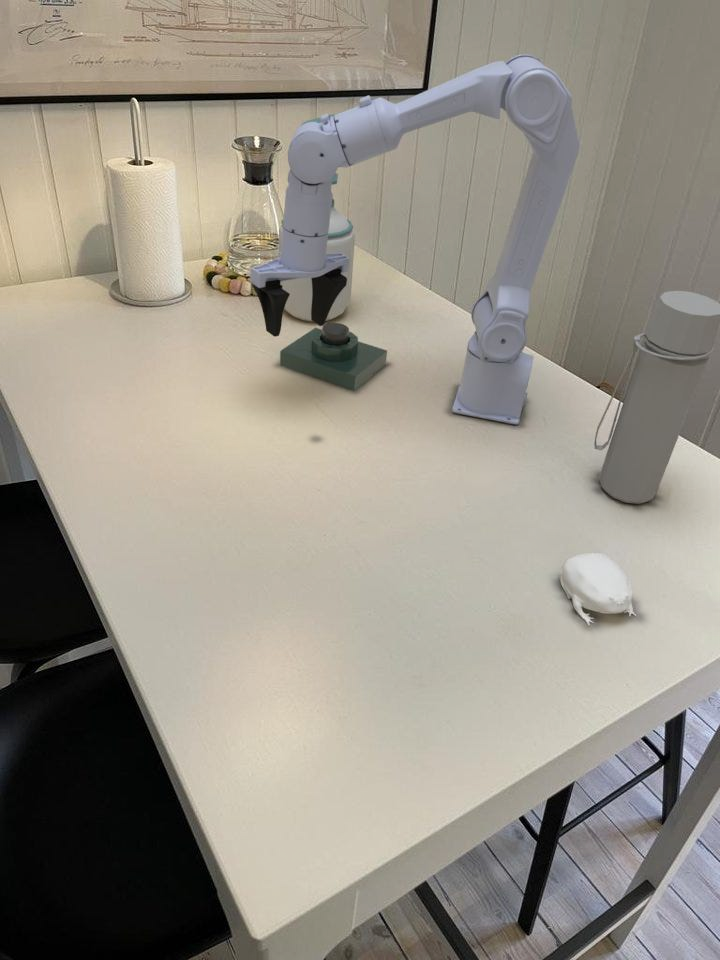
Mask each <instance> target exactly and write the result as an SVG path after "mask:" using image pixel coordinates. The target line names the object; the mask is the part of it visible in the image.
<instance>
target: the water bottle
mask: <svg viewBox="0 0 720 960" xmlns="http://www.w3.org/2000/svg"><path fill="white" fill-rule="evenodd" d="M719 328H720V303H719V302H718V301H717V300H715V299H713V298H711V297H708V296H707V295H703V294H701V293H696V292H693V291H685V290H684V291H683V290H671V291H665V292H663V293H662V294H661V295H660V296H659V298H658V300H657V303H656V306H655V307H654V310H653V312H652V313H651V317H650V319H649V321H648V324H647V326H646V328H645V330H644V332H643V333H639V334H637V335H634V338H633V339H634V340H633V348H632V352H631V354H630V356H629V358H628V361H627V363H626V365H625V367H624V369H623V370H622V374H621V375H620V377H619V380H618V382H617V384H616V386H615V389H614V391H613V393H612V394H611V397H610V399H609V401H608V403H607V405H606V408H605V410H604V412H603V414H602V417H601V419H600V421H599V422H598V425H597V427H596V432H595V437H594V443H593V445H594V450H597V451H603V450H604V449H606V448H607V446H608V445H609V446H608V449H607V452H606V455H605V458H604V461H603V464H602V467H601V470H600V473H599V475H598V479H599V482H600V486H601V488H602V490H603V491H604V492H605V493H607V494H608V495H609V496H610V497H612V499H616V500H618V501H620V502H623V503H627V504H638V505H640V504H644V503H646V502H650V501H652V500H653V499H654V497H655V496H656V494H657V493H658V490H659V488H660V485H661V482H662V480H663V477H664V475H665V473H666V470H667V468H668V465H669V462H670V459H671V457H672V454H673V451H674V449H675V447H676V444H677V441H678V439H679V436H680V434H681V431H682V428H683V426H684V423H685V421H686V418H687V416H688V413H689V410H690V408H691V406H692V403H693V401H694V398H695V395H696V393H697V390H698V387H699V386H700V382H701V380H702V377H703V374H704V372H705V370H706V367H707V364H708V362H709V359H710V356H711V354H712V353H713V351H714V349H715V342H716V339H717V334H718V330H719ZM641 338H643V340H644V341H643V342H642V344H640V341H641ZM638 350H640V351H639V354H638V357H637V360H636V363H635V366H634V368H633V372H632V374H631V378H630V381H629V384H628V386H627V383H628V378H629V375H630V371H631V367H632V364H633V361H634V358H635V357H634V356H635V354H636V352H637V351H638ZM628 366H629V367H628ZM627 369H628V370H627ZM626 370H627V374H626V377H625V381H624V384H623V387H622V391H621V394H620V397H619V401H618V404H617V407H616V411H615V413H614V414H615V415H614V417H613V421H612V425H611V427H610V428H611V429H610V431H609V435H608V439H607V440H606V442H605V443H603V444H602V445H600V444H599V445H598V444H597V438H598V433H599V430H600V428H601V426H602V423H603V421H604V419H605V416H606V414H607V412H608V410H609V408H610V406H611V404H612V401H613V399H614V397H615V395H616V393H617V390H618V388H619V386H620V384H621V382H622V379H623V377H624V375H625V372H626ZM626 386H627V391H626V394H625V396H624V393H625V389H626ZM623 396H624V399H623ZM622 400H623V403H622ZM621 403H622V406H621ZM620 407H621V409H620ZM618 413H619V414H618ZM616 421H617V422H616Z"/></svg>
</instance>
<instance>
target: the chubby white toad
mask: <svg viewBox="0 0 720 960" xmlns="http://www.w3.org/2000/svg"><path fill="white" fill-rule="evenodd" d="M559 581H560V585H561V587H562V589H563V591H564V592H565V594H566V596H567V598H568V599H569V600H570V599H571V601H572V605H573V608H574V610H575V612H576V613H577V614H578V615H579V616H580V617H581V618H582V619H583V620H584V621H585V623H586V624H587V625H588V626H590V625H591V624H594V622H593V621H592V620H594V619H595V618H594V617H592V616H590V615H591V613H590V612H588V613H585V612H584V611H583V609H587V610H589V611H594V612H597V613H599V614H609V615H610V614H613V615H614V614H615V615H616V614H621V613H623V614H625V613H628V616H629V617H631V615H633V616H634V617H637V615H636V613H635V612H634V608H633V598H634V592H633V584H632V582H631V580H630V579H629V577H628V576H627V574H626V573H625V572H624V571H623V569H622V568H621V566H620V565H618V563H616V562H615V561H614V560H612V558H610V557H609V556H608V555H606V554H603V553H600V552H588V553H586V552H585V553H581V554H577V555H574V556H571V557H569V558H567V559H566V560H565V562H564V563H563V564H562V566H561V570H560V571H559ZM590 623H591V624H590Z"/></svg>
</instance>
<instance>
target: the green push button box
mask: <svg viewBox="0 0 720 960" xmlns="http://www.w3.org/2000/svg"><path fill="white" fill-rule="evenodd" d="M387 357H388V350H386V349H384V348H380V347H377V346H374V345H371V344H369V343H365V342H362V341H359V337H358V336H357V335H356V334H355V333H353V332H352V331H349V337H348V343H347V344H346V345H341V346H332V345H328V344H325V343H323V342H322V328H318V327H314V328H312V329H311V330H309V331H308V332H307V333H305V334H304V335H302V336H300V337H299V338H297V339H296V340H295V341H293V342H291V343H290V344H288V345H287V346H285V347H284V348H282V349H280V351H279V366H281V367H283V368H286V369H289V370H292V371H295V372H299V373H301V374H304V375H306V376H310V377H313V378H316V379H318V380H320V381H321V380H322V381H323V382H327V383H330V384H333V385H335V386H339V387H342V388H344V389H347V390H350V391H353V392H355V391H356V390H358V389H359V388H360V387H361V386H363V384H365V383H366V382H368V380H369V379H371V378H372V377H373V376H374V375H375V374H377V373H378V372H379V371H380V370H382V368H384V367H385V366H386V365H387Z"/></svg>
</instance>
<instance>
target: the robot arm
mask: <svg viewBox="0 0 720 960" xmlns="http://www.w3.org/2000/svg"><path fill="white" fill-rule="evenodd" d="M371 98H372V97H371V96H370V95H366V96H363V97H361V98H359V100H358V101H359V105H357V106H355V107H352V108H349V109H346V110H345V111H342V112H340V113H337V114H334V116H332V117H330V116H329V115H330V114H329V113H325V114H322V115H320V117H321V118H320V117H319V118H320V120H321V123H316V122H308V123H305V124H303V125H302V124H301V125H302V126H301V125H299V126H298V128H297V129H296V130H295V132H294V133H293V135H292V138H291V140H290V142H289V147H288V150H287V162H288V166H289V170H288V173H287V183H288V185H287V186H286V189H285V198H284V209H283V218H282V220H283V232H282V244H281V252H280V253H279V252H278V257H276V258H274V259H272V260H270V261H268V262H265V263H263V264H260V265H257V266H252V267H250V277H249V283H251V286H252V287H253V289H254V292H255V294H256V296H257V299H258V301H259V303H260V306H261V310H262V314H263V319H264V325H265V331H266V332H268V334H270V335H272V336H273V337H275V338H277V337H279V336H280V334H281V330H282V323H283V315H284V311H285V309H284V308H285V304H286V302H287V299H288V297H289V295H290V294H289V293H288V292H286V291H285V290H283V289H282V285H280V282H281V281H286V280H292V279H297V278H311V280H312V306H311V320H312V321H313V322H312V323H315V324H316V325H318V326H319V327H323V326H324V325H325V323H326V322H327V321H326V318H327V316H328V314H329V311H330V309H331V307H332V305H333V303H334V301H335V299H336V298H337V296H338V295H339V293H340V292H341V291H342V290H343V288H344V287H345V286H346V284H347V278H346V277H345V276H343V275H342V274H341V272H342V273H343V272H348V267H349V260H350V258H349V257H347V256H345V255H343V254H342V253H336V254H326V248H327V240H328V231H329V223H330V215H331V207H332V198H333V199H334V197H333V196H334V194H333V192H332V186H333V185H332V178H333V176H334V174H335V173H337V170H338V168H349V167H352V166H355V165H358V164H360V163H363V162H365V161H368V160H371V159H373V158H376V157H379V156H381V155H384V154H386V153H389V152H392V151H395V150H397V148H398V146H399V144H400V142H401V140H402V138H403V136H404V135H405V134H407V133H410V132H413V131H417V130H419V129H422V128H425V127H428V126H431V125H434V124H437V123H440V122H443V121H446V120H450V119H453V118H455V117H459V116H462V115H465V114H467V113H476V114H479V115H482V116H485V117H489V118H492V119H494V120H500V117H501V109H502V110H503V111H504V112H506V115H507V117H508V119H509V121H510V122H511V123H512V124H513V125H514V126H515V127H516V128H517V129H518V130H519V131H520V132H521V133H522V134H523V135H524V137H525V139H526V142H527V143H528V144H529V146H530V148H531V151H532V154H531V157H530V161H529V163H528V168H527V169H526V173H525V176H524V179H523V182H522V186H521V189H520V192H519V196H518V199H517V202H516V205H515V208H514V211H513V215H512V216H511V221H510V225H509V227H508V230H507V233H506V237H505V240H504V243H503V246H502V249H501V252H500V256H499V258H498V262H497V265H496V268H495V272H494V274H493V275H492V277H491V278H490V279H488V281H487V282H486V285H485V289H484V291H483V292H482V294H481V295H480V296H479V297H478V298H477V299H476V300H475V301H474V303H473V305H472V308H471V312H470V313H471V314H470V315H471V317H470V318H471V321H472V324H473V325H474V328H475V331H474V333H473V334H472V335H471V337H470V338H469V340H468V342H467V346H466V351H465V359H464V365H463V370H462V376H461V381H460V384H459V385H458V388H457V392H456V395H455V399H454V401H453V405H452V408H451V412H452V413H454V414H458V415H463V416H468V417H474V418H479V419H483V420H484V419H485V420H489V421H495V422H500V423H505V424H509V425H515V426H517V425H519V424H520V419H521V415H522V411H523V407H524V406H525V405H526V402H527V399H528V392H527V389H528V386H529V381H530V376H531V372H532V366H533V362H534V356H533V355H532V354H529V353H525V352H523V351H524V350H525V348H526V345H527V342H528V334H527V328H526V327H527V321H528V318H529V317H530V316H529V315H530V301H531V300H530V299H531V290H532V286H533V284H534V281H535V278H536V275H537V272H538V270H539V267H540V265H541V261H542V258H543V255H544V253H545V249H546V247H547V244H548V241H549V238H550V235H551V233H552V230H553V228H554V224H555V221H556V218H557V215H558V213H559V210H560V207H561V204H562V201H563V198H564V196H565V193H566V190H567V187H568V184H569V181H570V178H571V175H572V172H573V169H574V168H575V167H574V166H575V164H576V161H577V158H578V155H579V151H580V141H579V136H578V131H577V125H576V120H575V116H574V111H573V97H572V94H571V93H570V91H569V89H568V88H567V87H566V85H565V84H564V82H563V80H562V79H561V77H560V76H559V74H557V73H556V72H555V71H554V69H551V68H549V67H547V66H546V65H545V64H544V63H543V61H542V60H541V59H540V58H538V57H536V56H534V55H532V54H526V53H525V54H518V55H515V56H513V57H511V58H509V59H508V60H506V61H504V60H499V61H494V62H491V63H488V64H486V65H483V66H481V67H478V68H474V69H473V70H470V71H468V72H466V73H464V74H461V75H458V76H457V77H454V78H453V79H450V80H447V81H445V82H443V83H441V84H439V85H436V86H434V87H432V88H429V89H427V90H424V91H422V92H421V93H418V94H416V95H414V96H411V97H409V98H406V99H405V100H402V101H399V102H398V103H394V102H391V101H389V100H387V99H386V98H384V97H377V98H375V99H371Z"/></svg>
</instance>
